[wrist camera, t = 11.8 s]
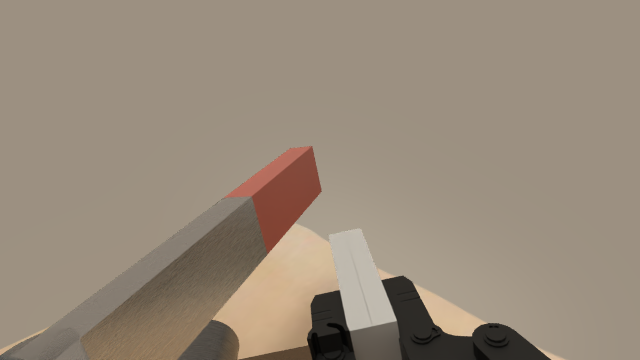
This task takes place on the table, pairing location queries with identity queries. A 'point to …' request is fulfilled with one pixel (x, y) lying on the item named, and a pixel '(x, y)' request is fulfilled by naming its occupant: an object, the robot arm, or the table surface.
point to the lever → (184, 274)
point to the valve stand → (231, 346)
